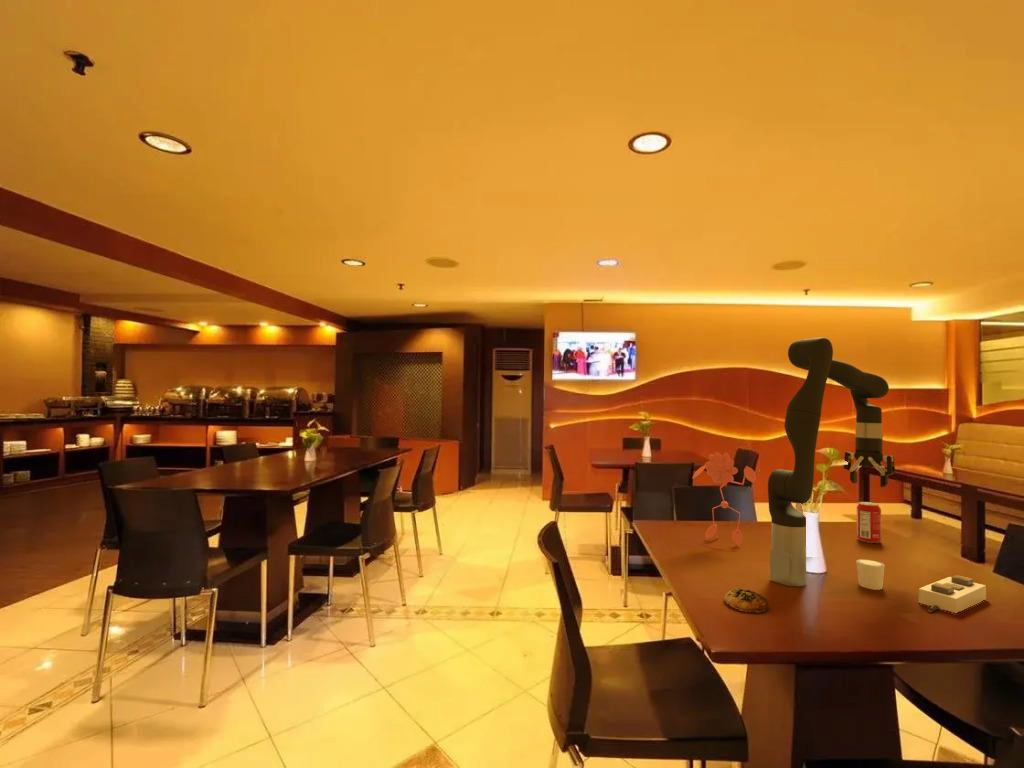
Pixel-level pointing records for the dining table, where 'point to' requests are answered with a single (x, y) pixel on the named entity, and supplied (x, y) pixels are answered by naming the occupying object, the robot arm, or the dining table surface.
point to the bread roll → (747, 601)
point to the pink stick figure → (723, 471)
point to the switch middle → (955, 586)
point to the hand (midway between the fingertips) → (868, 485)
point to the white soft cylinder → (870, 573)
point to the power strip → (952, 596)
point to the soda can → (869, 522)
